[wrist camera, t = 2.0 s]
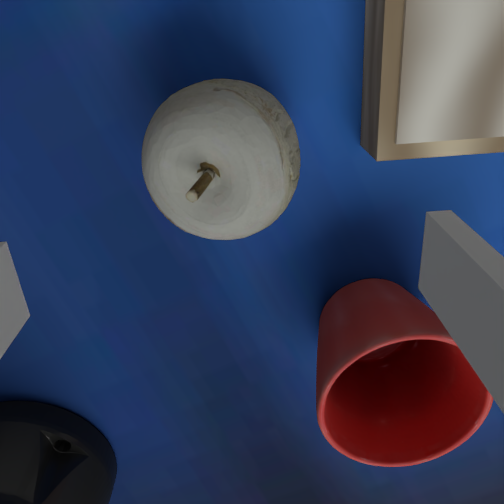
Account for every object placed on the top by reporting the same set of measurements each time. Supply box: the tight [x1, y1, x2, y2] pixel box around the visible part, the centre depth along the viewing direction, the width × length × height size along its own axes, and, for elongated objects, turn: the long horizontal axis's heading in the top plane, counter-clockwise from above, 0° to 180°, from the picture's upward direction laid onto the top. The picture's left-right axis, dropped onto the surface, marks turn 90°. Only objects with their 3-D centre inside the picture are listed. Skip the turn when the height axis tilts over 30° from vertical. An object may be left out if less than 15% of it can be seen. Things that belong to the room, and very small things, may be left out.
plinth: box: [360, 0, 504, 161], centre depth 27 cm, size 14×14×4 cm
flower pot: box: [316, 278, 493, 467], centre depth 34 cm, size 11×11×10 cm
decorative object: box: [142, 79, 300, 240], centre depth 27 cm, size 9×9×10 cm
